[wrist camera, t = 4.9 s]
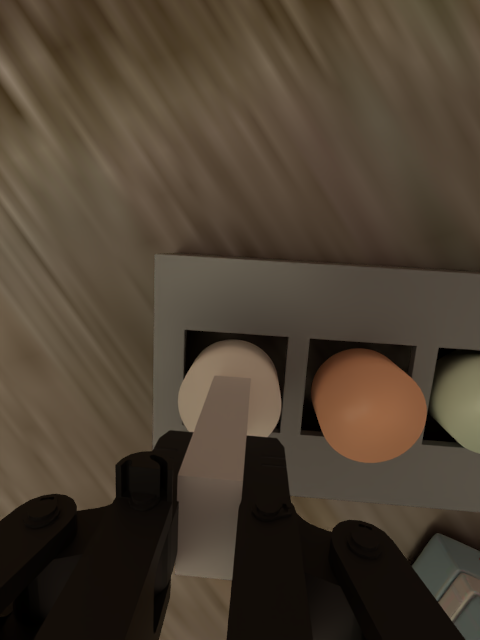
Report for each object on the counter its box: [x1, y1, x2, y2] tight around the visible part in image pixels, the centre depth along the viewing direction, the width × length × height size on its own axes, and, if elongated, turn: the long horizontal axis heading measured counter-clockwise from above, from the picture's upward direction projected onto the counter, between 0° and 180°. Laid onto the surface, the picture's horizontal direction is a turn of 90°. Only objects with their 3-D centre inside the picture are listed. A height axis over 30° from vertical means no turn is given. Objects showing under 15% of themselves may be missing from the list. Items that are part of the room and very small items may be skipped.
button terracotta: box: [311, 348, 427, 463], centre depth 16 cm, size 4×4×2 cm
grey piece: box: [153, 253, 480, 512], centre depth 19 cm, size 20×12×4 cm, turn 87°
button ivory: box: [178, 339, 281, 437], centre depth 16 cm, size 4×4×2 cm
